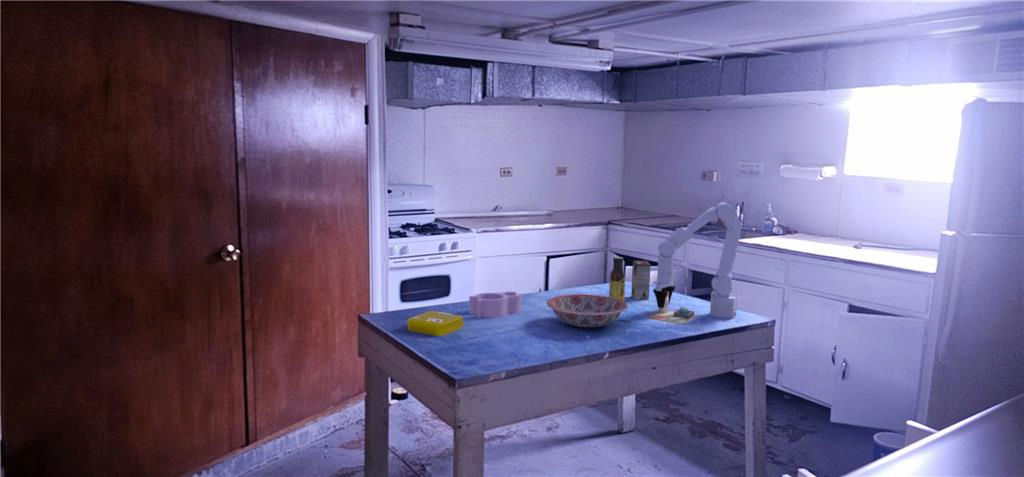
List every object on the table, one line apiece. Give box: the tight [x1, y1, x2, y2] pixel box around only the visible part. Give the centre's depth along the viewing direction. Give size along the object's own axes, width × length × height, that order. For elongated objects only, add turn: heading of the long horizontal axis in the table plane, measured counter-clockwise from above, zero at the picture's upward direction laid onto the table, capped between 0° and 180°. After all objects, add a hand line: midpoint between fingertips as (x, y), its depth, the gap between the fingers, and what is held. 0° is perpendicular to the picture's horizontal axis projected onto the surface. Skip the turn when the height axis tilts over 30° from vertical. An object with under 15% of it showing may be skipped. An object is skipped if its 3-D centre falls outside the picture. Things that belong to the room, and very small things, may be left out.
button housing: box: [674, 308, 695, 319], centre depth 251 cm, size 6×6×2 cm
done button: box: [679, 306, 690, 314], centre depth 251 cm, size 3×3×2 cm
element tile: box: [407, 310, 464, 337], centre depth 233 cm, size 15×15×5 cm
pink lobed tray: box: [468, 291, 522, 319], centre depth 255 cm, size 20×12×7 cm, turn 121°
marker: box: [657, 292, 669, 313], centre depth 256 cm, size 4×4×8 cm
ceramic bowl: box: [546, 293, 628, 328], centre depth 240 cm, size 29×29×8 cm
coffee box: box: [630, 260, 652, 301], centre depth 280 cm, size 9×6×16 cm
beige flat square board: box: [645, 309, 698, 326], centre depth 250 cm, size 15×16×1 cm
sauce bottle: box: [608, 256, 626, 302], centre depth 268 cm, size 6×6×20 cm
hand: (663, 305), depth 256 cm, fingers open, 6 cm apart
